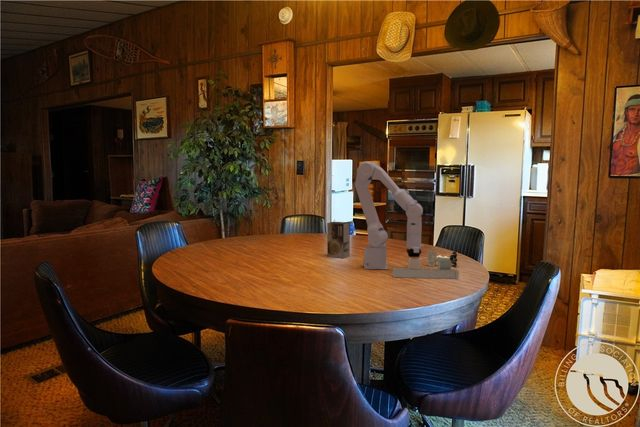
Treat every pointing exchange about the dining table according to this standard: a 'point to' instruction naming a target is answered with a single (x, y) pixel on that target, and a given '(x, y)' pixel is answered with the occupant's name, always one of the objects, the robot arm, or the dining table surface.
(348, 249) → the coffee box
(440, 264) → the rail
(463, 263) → the dining table surface
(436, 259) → the valve
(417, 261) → the block
